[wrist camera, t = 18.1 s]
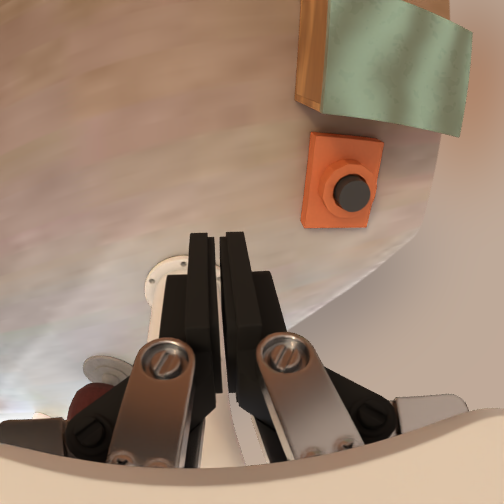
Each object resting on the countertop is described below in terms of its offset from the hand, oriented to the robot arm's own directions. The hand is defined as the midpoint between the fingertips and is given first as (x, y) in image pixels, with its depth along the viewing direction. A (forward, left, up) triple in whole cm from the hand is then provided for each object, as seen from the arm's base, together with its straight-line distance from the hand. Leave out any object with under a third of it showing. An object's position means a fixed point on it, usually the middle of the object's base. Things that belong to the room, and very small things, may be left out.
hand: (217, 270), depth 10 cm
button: (-7, -16, -24) cm, 29 cm away
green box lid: (+9, -17, -18) cm, 27 cm away
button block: (-7, -16, -27) cm, 32 cm away
